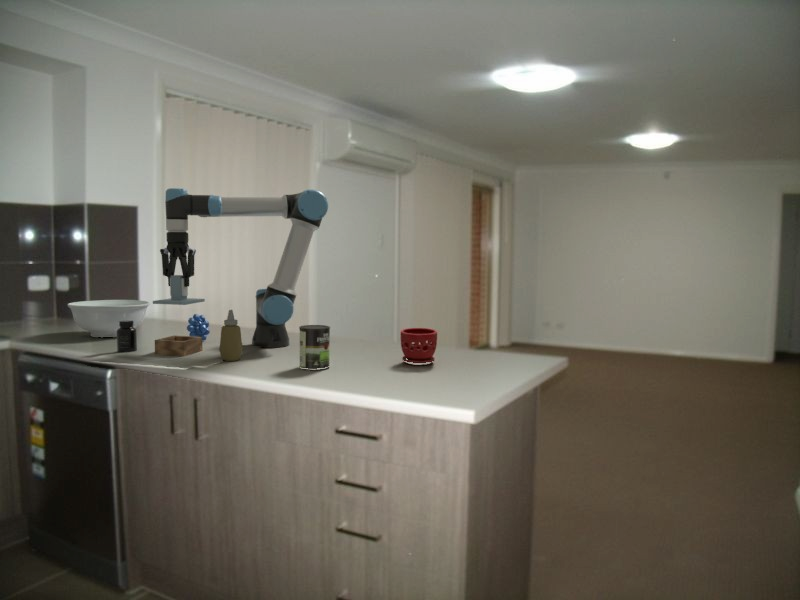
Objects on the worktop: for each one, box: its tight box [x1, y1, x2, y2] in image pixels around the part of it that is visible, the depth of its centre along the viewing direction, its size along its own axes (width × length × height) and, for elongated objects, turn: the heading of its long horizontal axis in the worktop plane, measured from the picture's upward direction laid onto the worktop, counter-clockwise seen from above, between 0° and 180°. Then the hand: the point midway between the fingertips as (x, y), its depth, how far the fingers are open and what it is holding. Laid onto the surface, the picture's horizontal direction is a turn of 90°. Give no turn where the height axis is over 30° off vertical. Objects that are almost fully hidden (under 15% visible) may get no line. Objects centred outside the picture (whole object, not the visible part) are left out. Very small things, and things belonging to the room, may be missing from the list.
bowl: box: [67, 299, 151, 339], centre depth 270 cm, size 32×32×15 cm
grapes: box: [186, 313, 211, 342], centre depth 256 cm, size 12×7×12 cm, turn 151°
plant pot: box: [400, 327, 438, 363], centre depth 220 cm, size 13×13×12 cm
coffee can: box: [298, 324, 331, 369], centre depth 209 cm, size 10×10×14 cm
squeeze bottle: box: [219, 309, 243, 362], centre depth 220 cm, size 8×8×18 cm
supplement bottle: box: [116, 320, 138, 353], centre depth 230 cm, size 7×7×12 cm
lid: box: [152, 274, 206, 306], centre depth 227 cm, size 13×13×10 cm
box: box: [154, 335, 203, 357], centre depth 229 cm, size 12×12×6 cm
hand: (179, 295), depth 227 cm, fingers closed on lid, 4 cm apart
